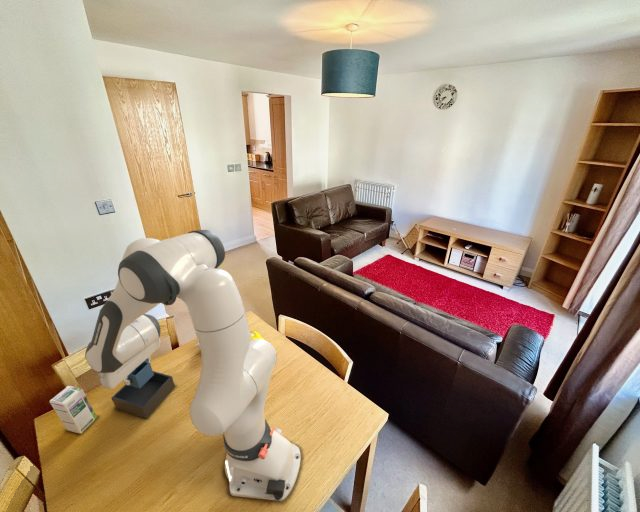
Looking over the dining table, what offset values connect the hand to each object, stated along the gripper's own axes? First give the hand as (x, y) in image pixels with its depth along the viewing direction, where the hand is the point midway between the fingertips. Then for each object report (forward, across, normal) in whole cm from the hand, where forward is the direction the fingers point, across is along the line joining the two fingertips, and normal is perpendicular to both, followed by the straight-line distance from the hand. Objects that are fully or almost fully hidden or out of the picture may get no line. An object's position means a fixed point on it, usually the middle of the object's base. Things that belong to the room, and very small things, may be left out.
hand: (138, 374), depth 95 cm
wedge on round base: (+12, +30, -8) cm, 33 cm away
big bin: (+11, 0, 0) cm, 11 cm away
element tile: (+12, +30, -25) cm, 41 cm away
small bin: (+2, 0, 0) cm, 2 cm away
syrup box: (+12, -14, +12) cm, 22 cm away
